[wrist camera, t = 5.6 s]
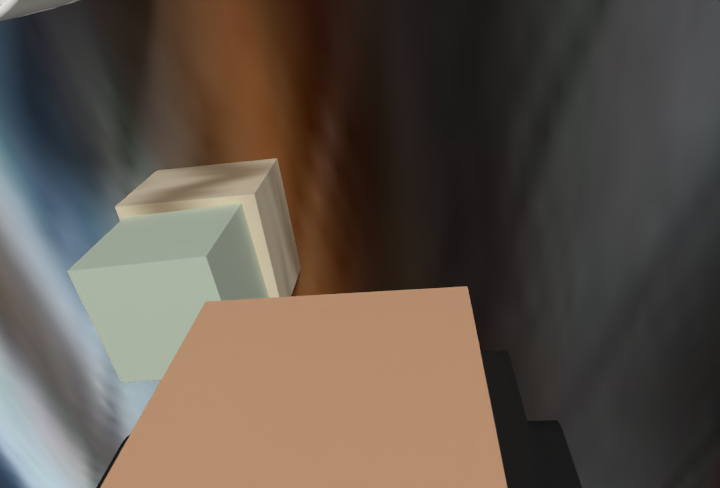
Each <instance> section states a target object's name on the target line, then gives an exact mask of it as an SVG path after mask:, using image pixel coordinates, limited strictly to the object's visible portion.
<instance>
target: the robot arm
mask: <svg viewBox="0 0 720 488" xmlns="http://www.w3.org/2000/svg"><path fill="white" fill-rule="evenodd" d="M481 357H482V362H483V367H484V372H485V377H486V382H487V387H488V392H489V397H490V403H491V408H492V413H493V418H494V423H495V428H496V433H497V438H498V443H499V448H500V453H501V458H502V463H503V468H504V473H505V478H506V483H507V488H582V486H581V483H580V480H579V478H578V475H577V472H576V469H575V466H574V463H573V460H572V457H571V454H570V451H569V448H568V445H567V442H566V439H565V436H564V433H563V430H562V428H561V426H560V424H559V422H558V421H556V420H552V421H527V419H526V416H525V412H524V408H523V404H522V401H521V397H520V393H519V389H518V386H517V382H516V378H515V374H514V371H513V367H512V363H511V360H510V356H509V353H508V351H507V350H504V351H482V352H481ZM129 436H130V435H129ZM129 436H127V437H126V439H125V440H124V441H123V443H122V444H121V446H120V447H119V449H118V451H117V453H116V454H115V456H114V458H113V460H112V461H111V463H110V465H109V467H108V468H107V470H106V472H105V474H104V475H103V477H102V479H101V481H100V482H99V484H98V486H97V488H100V487H101V485H102V484H103V482H104V480H105V478H106V477H107V475H108V473H109V471H110V470H111V468H112V466H113V464H114V462H115V461H116V459H117V457H118V455H119V454H120V452H121V450H122V448H123V447H124V445H125V443H126V441H127V440H128V438H129Z"/></svg>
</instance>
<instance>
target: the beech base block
mask: <svg viewBox="0 0 720 488" xmlns="http://www.w3.org/2000/svg"><path fill="white" fill-rule="evenodd" d="M239 203H242V206H243V210H244V213H245V216H246V220H247V223H248V227H249V230H250V234H251V237H252V240H253V244H254V247H255V251H256V254H257V258H258V261H259V264H260V268H261V271H262V275H263V278H264V282H265V285H266V288H267V292H268V295H269V298H275V297H291V295H292V292H293V289H294V286H295V283H296V281H297V278H298V275H299V272H300V269H301V267H300V262H299V258H298V253H297V248H296V244H295V239H294V234H293V230H292V225H291V220H290V216H289V211H288V206H287V202H286V197H285V192H284V188H283V183H282V178H281V174H280V169H279V164H278V160H277V158H275V159H265V160H256V161H246V162H236V163H226V164H216V165H206V166H196V167H186V168H176V169H166V170H157V171H155V172H154V173H153V174H152V175H151V176H150V177H149V178H147V179H146V180H145V181H144V182H143V183H142V184H141V185H139V186H138V187H137V188H136V189H135V190H134V191H132V192H131V193H130V194H129V195H128V196H127V197H126V198H124V199H123V200H122V201H121V202H120V203H119V204H118V205H116V206H115V209H116V211H117V214H118V217H119V219H120V221H121V220H122V219H123V218H124V217H132V216H140V215H148V214H156V213H165V212H173V211H181V210H190V209H198V208H206V207H214V206H223V205H231V204H239Z"/></svg>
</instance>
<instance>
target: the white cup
mask: <svg viewBox="0 0 720 488" xmlns="http://www.w3.org/2000/svg"><path fill="white" fill-rule="evenodd" d="M77 1H80V0H0V22H2V21H6V20H10V19H14V18H18V17H22V16H26V15H30V14H34V13H38V12H43V11H47V10H51V9H54V8H57V7H60V6H63V5H67V4H71V3H74V2H77Z"/></svg>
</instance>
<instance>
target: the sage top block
mask: <svg viewBox="0 0 720 488" xmlns="http://www.w3.org/2000/svg"><path fill="white" fill-rule="evenodd" d="M67 272H68V274H69V276H70V278H71V280H72V282H73V284H74V286H75V288H76V290H77V292H78V294H79V297H80V299H81V301H82V303H83V305H84V307H85V309H86V311H87V313H88V315H89V317H90V319H91V321H92V323H93V325H94V327H95V329H96V331H97V333H98V335H99V337H100V340H101V342H102V344H103V346H104V348H105V350H106V352H107V354H108V356H109V358H110V360H111V362H112V364H113V366H114V368H115V370H116V372H117V374H118V376H119V378H120V381H121V382H135V381H150V380H161V379H162V378H163V376H164V374H165V372H166V371H167V369H168V367H169V365H170V363H171V362H172V360H173V358H174V356H175V355H176V353H177V351H178V349H179V348H180V346H181V344H182V342H183V341H184V339H185V337H186V335H187V333H188V332H189V330H190V328H191V326H192V325H193V323H194V321H195V319H196V318H197V316H198V314H199V312H200V310H201V309H202V307H203V305H204V303H205V302H206V301H223V300H240V299H258V298H269V295H268V292H267V288H266V285H265V282H264V278H263V275H262V271H261V268H260V264H259V261H258V258H257V254H256V251H255V247H254V244H253V240H252V237H251V234H250V230H249V227H248V223H247V220H246V216H245V213H244V210H243V206H242V203H239V204H231V205H223V206H214V207H206V208H198V209H190V210H181V211H173V212H165V213H156V214H148V215H140V216H132V217H124V218H123V219H122V220H121V221H120V222H119V223H118V224H117V225H116V226H115V227H114V228H113V229H112V230H111V231H109V232H108V233H107V234H106V235H105V236H104V237H103V238H102V239H101V240H100V241H99V242H98V243H97V244H96V245H94V246H93V247H92V248H91V249H90V250H89V251H88V252H87V253H86V254H85V255H84V256H83V257H82V258H81V259H80V260H78V261H77V262H76V263H75V264H74V265H73V266H72V267H71V268H70V269H69V270H68V271H67Z"/></svg>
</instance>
